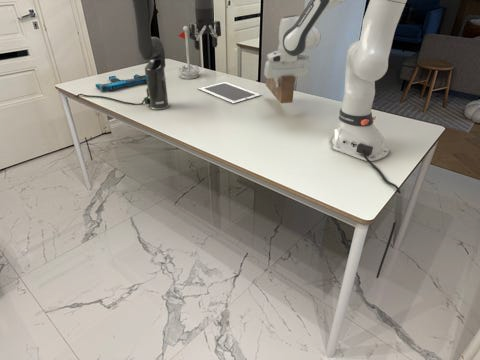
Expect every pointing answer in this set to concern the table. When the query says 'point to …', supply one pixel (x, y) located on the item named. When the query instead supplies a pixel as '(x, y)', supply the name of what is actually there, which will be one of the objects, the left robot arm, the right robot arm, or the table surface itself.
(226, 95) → the tablet
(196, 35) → the left robot arm
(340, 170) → the table surface
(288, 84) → the box
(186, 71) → the flag stand
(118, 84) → the submachine gun
